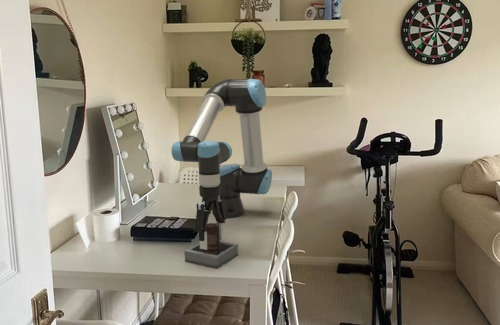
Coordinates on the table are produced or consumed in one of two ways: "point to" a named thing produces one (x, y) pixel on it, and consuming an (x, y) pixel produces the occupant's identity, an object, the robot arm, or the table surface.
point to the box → (212, 239)
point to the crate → (215, 261)
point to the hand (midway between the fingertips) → (211, 244)
